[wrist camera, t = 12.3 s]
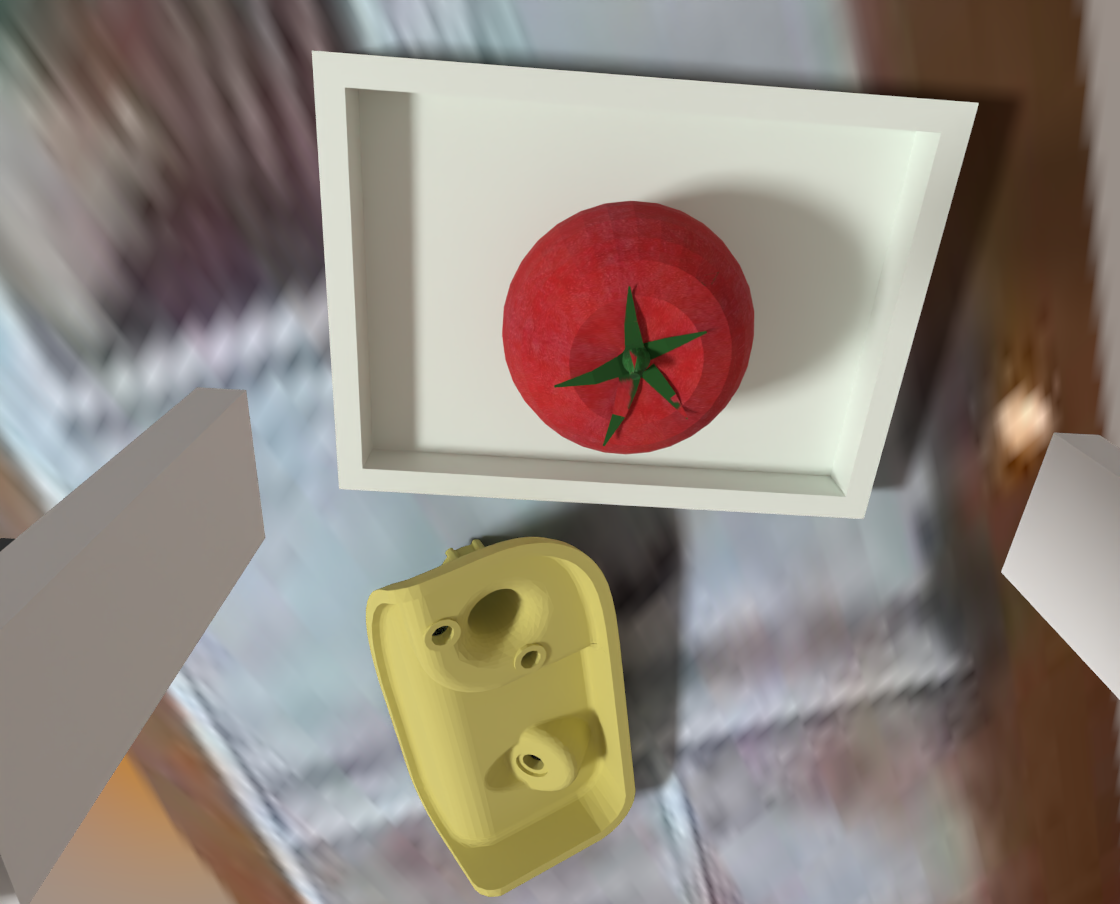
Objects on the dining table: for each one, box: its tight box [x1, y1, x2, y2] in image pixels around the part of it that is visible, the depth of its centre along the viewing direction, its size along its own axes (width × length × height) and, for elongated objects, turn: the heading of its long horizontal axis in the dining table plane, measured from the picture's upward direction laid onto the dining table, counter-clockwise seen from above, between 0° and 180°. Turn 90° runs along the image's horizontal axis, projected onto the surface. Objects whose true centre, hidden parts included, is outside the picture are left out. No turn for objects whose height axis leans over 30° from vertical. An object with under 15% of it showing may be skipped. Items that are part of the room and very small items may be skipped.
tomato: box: [502, 201, 754, 454], centre depth 26 cm, size 9×9×8 cm
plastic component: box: [366, 537, 635, 897], centre depth 36 cm, size 20×7×10 cm
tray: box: [312, 51, 979, 519], centre depth 29 cm, size 16×22×2 cm
